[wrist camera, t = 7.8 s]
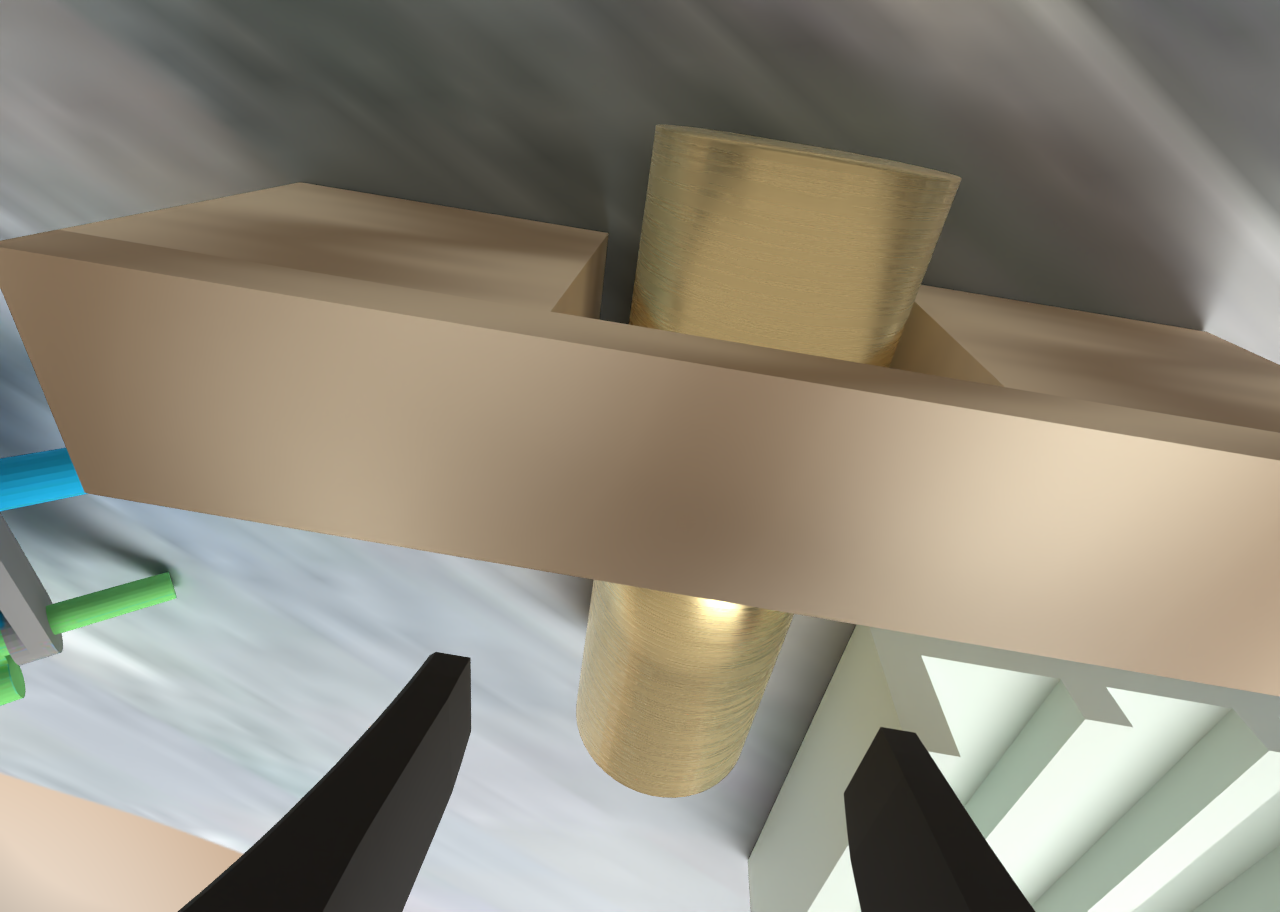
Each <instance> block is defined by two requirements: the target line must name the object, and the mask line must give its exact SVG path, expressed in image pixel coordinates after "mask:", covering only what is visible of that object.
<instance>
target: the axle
mask: <svg viewBox="0 0 1280 912" xmlns="http://www.w3.org/2000/svg"><path fill="white" fill-rule="evenodd" d="M961 179H962V178H961V177H958V176H956V175H952V174H949V173H945V172H941V171H937V170H933V169H929V168H925V167H920V166H916V165H911V164H906V163H902V162H897V161H892V160H887V159H882V158H877V157H872V156H866V155H861V154H856V153H851V152H845V151H840V150H834V149H828V148H822V147H816V146H810V145H804V144H798V143H792V142H786V141H780V140H774V139H768V138H762V137H756V136H750V135H744V134H738V133H732V132H725V131H718V130H711V129H703V128H695V127H687V126H678V125H664V124H659V125H656V129H655V137H654V144H653V151H652V158H651V166H650V173H649V180H648V188H647V195H646V202H645V209H644V217H643V224H642V231H641V239H640V246H639V253H638V260H637V268H636V275H635V282H634V289H633V297H632V304H631V311H630V319H629V325H634V326H640V327H646V328H652V329H658V330H664V331H670V332H676V333H682V334H688V335H694V336H700V337H706V338H712V339H718V340H724V341H730V342H736V343H742V344H748V345H754V346H760V347H767V348H773V349H779V350H785V351H791V352H797V353H803V354H809V355H815V356H821V357H827V358H833V359H839V360H845V361H851V362H857V363H863V364H869V365H875V366H881V367H887V368H889V366H890V363H891V361H892V358H893V356H894V353H895V350H896V348H897V345H898V343H899V340H900V337H901V335H902V332H903V330H904V327H905V324H906V322H907V319H908V317H909V314H910V311H911V309H912V306H913V304H914V301H915V298H916V296H917V293H918V291H919V288H920V285H921V283H922V280H923V278H924V275H925V272H926V270H927V267H928V265H929V262H930V259H931V257H932V254H933V252H934V249H935V246H936V244H937V241H938V239H939V236H940V233H941V231H942V228H943V226H944V223H945V220H946V218H947V215H948V213H949V210H950V207H951V205H952V202H953V200H954V197H955V194H956V192H957V189H958V187H959V184H960V181H961ZM793 616H794V614H793V613H787V612H781V611H775V610H769V609H763V608H757V607H752V606H746V605H740V604H734V603H728V602H722V601H716V600H711V599H705V598H699V597H693V596H687V595H681V594H675V593H669V592H664V591H658V590H652V589H646V588H640V587H634V586H628V585H622V584H617V583H611V582H605V581H599V580H594V581H593V588H592V595H591V602H590V610H589V617H588V624H587V632H586V639H585V646H584V653H583V661H582V668H581V675H580V683H579V690H578V697H577V704H576V717H577V725H578V729H579V733H580V736H581V738H582V741H583V743H584V745H585V747H586V749H587V750H588V752H589V754H590V755H591V757H592V758H593V759H594V761H595V762H596V763H597V764H598V765H599V766H600V767H601V768H602V769H603V770H604V771H605V772H606V773H607V774H608V775H609V776H611V777H612V778H613V779H615V780H616V781H618V782H619V783H621V784H623V785H624V786H626V787H628V788H631V789H633V790H635V791H638V792H641V793H644V794H648V795H651V796H658V797H672V798H676V797H685V796H690V795H694V794H698V793H700V792H703V791H705V790H707V789H710V788H711V787H713V786H714V785H716V784H718V783H719V782H720V781H721V780H722V779H724V778H725V777H726V776H727V775H728V774H729V772H730V771H731V770H732V769H733V767H734V766H735V764H736V762H737V760H738V759H739V756H740V753H741V751H742V748H743V746H744V743H745V740H746V738H747V735H748V733H749V730H750V727H751V725H752V722H753V720H754V717H755V714H756V712H757V709H758V707H759V704H760V701H761V699H762V696H763V694H764V691H765V688H766V686H767V683H768V681H769V678H770V675H771V673H772V670H773V668H774V665H775V662H776V660H777V657H778V655H779V652H780V649H781V647H782V644H783V642H784V639H785V636H786V634H787V631H788V629H789V626H790V623H791V621H792V618H793Z"/></svg>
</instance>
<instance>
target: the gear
mask: <svg viewBox="0 0 1280 912" xmlns="http://www.w3.org/2000/svg"><path fill="white" fill-rule="evenodd" d="M84 494H88V493H85V492H84V490H83V487H82V485H81V482H80V480H79V477H78V475H77V473H76V470H75V468H74V465H73V463H72V460H71V458H70V456H69V453H68V451H67V448H61V449H55V450H49V451H43V452H37V453H31V454H25V455H19V456H13V457H7V458H1V459H0V511H5V510H9V509H14V508H19V507H24V506H29V505H34V504H39V503H44V502H49V501H54V500H59V499H64V498H69V497H74V496H79V495H84ZM175 598H176V593H175V590H174V586H173V583H172V580H171V577H170V574H169V572H166V573H162V574H159V575H155V576H151V577H148V578H144V579H141V580H137V581H133V582H130V583H126V584H123V585H119V586H116V587H112V588H108V589H105V590H101V591H98V592H94V593H91V594H87V595H83V596H80V597H76V598H73V599H69V600H65V601H62V602H58V603H55V604H52V602H51V599H50V597H49V595H48V594H47V592H46V590H45V589H44V587H43V585H42V583H41V582H40V580H39V578H38V576H37V575H36V573H35V571H34V570H33V568H32V566H31V564H30V563H29V561H28V559H27V557H26V556H25V554H24V552H23V550H22V549H21V547H20V545H19V544H18V542H17V540H16V538H15V537H14V535H13V533H12V531H11V530H10V528H9V526H8V525H7V523H6V521H5V519H4V518H3V516H2V514H1V512H0V706H1V705H4V704H7V703H10V702H13V701H15V700H18V699H21V698H24V696H25V683H24V678H23V674H22V671H21V669H20V666H19V665H23V664H27V663H30V662H33V661H36V660H39V659H42V658H46V657H49V656H52V655H55V654H58V653H61V652H62V650H63V640H62V634H61V633H63V632H66V631H70V630H73V629H76V628H80V627H83V626H86V625H90V624H93V623H96V622H99V621H103V620H106V619H109V618H113V617H116V616H119V615H123V614H126V613H129V612H132V611H136V610H139V609H142V608H146V607H149V606H152V605H156V604H159V603H162V602H165V601H169V600H172V599H175Z"/></svg>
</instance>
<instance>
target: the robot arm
mask: <svg viewBox="0 0 1280 912" xmlns="http://www.w3.org/2000/svg"><path fill="white" fill-rule="evenodd" d="M470 733H471V669H470V658H468V657H462V656H457V655H451V654H445V653H439V652H435V653H433V654H432V655H430V656H429V657H428V658H427V660H426V661H425V662H424V664H423V665H422V666H421V668H420V669H419V670H418V671H417V673H416V674H415V675H414V676H413V677H412V679H411V680H410V681H409V682H408V684H407V685H406V686H405V687H404V688H403V690H402V691H401V692H400V693H399V694H398V696H397V697H396V698H395V699H394V700H393V702H392V703H391V704H390V705H389V706H388V707H387V708H386V710H385V711H384V712H383V713H382V714H381V715H380V716H379V718H378V719H377V720H376V721H375V722H374V723H373V724H372V726H371V727H370V728H369V729H368V730H367V731H366V732H365V733H364V734H363V735H362V736H361V737H360V739H359V740H358V741H357V742H356V743H355V744H354V745H353V746H352V747H351V748H350V749H349V750H348V752H347V753H346V754H345V755H344V756H343V757H342V758H341V759H340V760H339V761H338V762H337V763H336V765H335V766H334V767H333V768H332V769H331V770H330V771H329V772H328V773H327V774H326V775H325V776H324V777H323V778H322V779H321V780H320V781H319V782H318V783H317V784H316V785H315V786H314V787H313V788H312V789H311V790H310V791H309V792H308V793H307V794H306V795H305V796H304V797H303V798H302V799H301V800H300V801H299V802H298V803H297V804H296V805H295V806H294V807H293V808H292V809H291V810H290V811H289V812H288V813H287V814H286V815H285V816H284V817H283V818H282V819H281V820H280V821H279V822H278V823H277V824H275V825H274V826H273V827H272V828H271V829H270V830H269V831H268V832H267V833H266V834H265V835H264V836H263V837H262V838H261V839H260V840H258V841H257V842H256V843H255V844H254V845H253V846H252V847H251V848H250V849H249V850H248V851H247V852H245V853H244V854H243V855H242V856H241V857H240V858H239V859H238V860H237V861H236V862H234V863H233V864H232V865H231V866H230V867H229V868H228V869H227V870H225V871H224V872H223V873H222V874H221V875H220V876H219V877H218V878H216V879H215V880H214V881H213V882H212V883H211V884H210V885H208V887H206V888H205V889H204V890H203V891H202V892H200V894H198V895H197V896H196V897H194V898H193V899H192V900H191V901H190V902H188V903H187V904H186V905H185V906H184V907H183V908H181V909H180V910H179V911H178V912H402V911H403V909H404V906H405V904H406V901H407V899H408V897H409V894H410V892H411V889H412V887H413V885H414V882H415V880H416V878H417V875H418V873H419V870H420V868H421V866H422V863H423V861H424V859H425V856H426V854H427V851H428V849H429V847H430V844H431V842H432V839H433V837H434V835H435V832H436V830H437V827H438V825H439V823H440V820H441V818H442V815H443V813H444V811H445V808H446V806H447V803H448V801H449V798H450V796H451V794H452V791H453V788H454V785H455V781H456V778H457V775H458V772H459V769H460V766H461V762H462V759H463V756H464V752H465V749H466V746H467V743H468V739H469V736H470ZM844 804H845V815H846V826H847V835H848V843H849V852H850V860H851V865H852V870H853V875H854V880H855V884H856V889H857V894H858V899H859V903H860V908H861V912H1035V910H1034V909H1033V907H1032V906H1031V905H1030V903H1029V902H1028V900H1027V899H1026V898H1025V896H1024V895H1023V893H1022V892H1021V890H1020V889H1019V888H1018V886H1017V885H1016V883H1015V882H1014V880H1013V879H1012V877H1011V876H1010V874H1009V873H1008V872H1007V870H1006V869H1005V867H1004V866H1003V864H1002V863H1001V861H1000V860H999V859H998V857H997V856H996V854H995V853H994V851H993V850H992V848H991V847H990V845H989V844H988V842H987V841H986V839H985V838H984V836H983V835H982V833H981V832H980V830H979V829H978V827H977V826H976V824H975V823H974V821H973V820H972V818H971V817H970V815H969V814H968V812H967V811H966V809H965V808H964V806H963V805H962V803H961V802H960V800H959V799H958V797H957V795H956V794H955V792H954V791H953V789H952V788H951V786H950V785H949V783H948V782H947V780H946V779H945V777H944V775H943V774H942V772H941V771H940V769H939V768H938V766H937V765H936V763H935V762H934V760H933V758H932V757H931V755H930V754H929V752H928V751H927V749H926V748H925V746H924V745H923V743H922V742H921V740H920V739H919V737H918V736H917V734H916V733H915V732H909V731H903V730H897V729H891V728H885V727H880V729H879V730H878V732H877V734H876V736H875V738H874V739H873V741H872V743H871V745H870V747H869V748H868V750H867V752H866V754H865V756H864V757H863V759H862V761H861V763H860V765H859V766H858V768H857V770H856V772H855V774H854V776H853V777H852V779H851V781H850V783H849V785H848V786H847V788H846V790H845V792H844Z"/></svg>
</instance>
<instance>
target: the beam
mask: <svg viewBox="0 0 1280 912" xmlns="http://www.w3.org/2000/svg"><path fill="white" fill-rule="evenodd" d="M608 234H609V233H605V232H599V231H593V230H587V229H581V228H574V227H568V226H562V225H556V224H550V223H544V222H538V221H532V220H526V219H520V218H514V217H508V216H502V215H496V214H490V213H484V212H477V211H471V210H465V209H459V208H453V207H447V206H441V205H435V204H429V203H423V202H417V201H411V200H405V199H399V198H393V197H387V196H380V195H374V194H368V193H362V192H356V191H350V190H344V189H338V188H332V187H326V186H320V185H314V184H308V183H302V182H299V183H293V184H288V185H283V186H278V187H273V188H268V189H263V190H258V191H253V192H247V193H242V194H237V195H232V196H227V197H222V198H217V199H212V200H206V201H201V202H196V203H191V204H186V205H181V206H176V207H171V208H166V209H160V210H155V211H150V212H145V213H140V214H135V215H130V216H125V217H120V218H114V219H109V220H104V221H99V222H94V223H89V224H84V225H79V226H74V227H68V228H63V229H58V230H53V231H48V232H43V233H38V234H33V235H28V236H22V237H17V238H12V239H7V240H2V241H0V288H1V290H2V293H3V295H4V298H5V300H6V303H7V305H8V307H9V310H10V312H11V315H12V317H13V320H14V322H15V324H16V327H17V329H18V332H19V334H20V337H21V339H22V341H23V344H24V346H25V349H26V351H27V354H28V356H29V358H30V361H31V363H32V366H33V368H34V371H35V373H36V375H37V378H38V380H39V383H40V385H41V388H42V390H43V392H44V395H45V397H46V400H47V402H48V405H49V407H50V409H51V412H52V414H53V417H54V419H55V422H56V424H57V426H58V429H59V431H60V434H61V436H62V439H63V441H64V443H65V446H66V448H67V451H68V453H69V456H70V458H71V460H72V463H73V465H74V468H75V470H76V473H77V475H78V477H79V480H80V482H81V485H82V487H83V490H84V492H85V493H88V494H94V495H100V496H106V497H112V498H118V499H124V500H129V501H135V502H141V503H147V504H153V505H159V506H165V507H171V508H176V509H182V510H188V511H194V512H200V513H206V514H212V515H217V516H223V517H229V518H235V519H241V520H247V521H253V522H259V523H264V524H270V525H276V526H282V527H288V528H294V529H300V530H306V531H311V532H317V533H323V534H329V535H335V536H341V537H347V538H352V539H358V540H364V541H370V542H376V543H382V544H388V545H394V546H399V547H405V548H411V549H417V550H423V551H429V552H435V553H441V554H446V555H452V556H458V557H464V558H470V559H476V560H482V561H487V562H493V563H499V564H505V565H511V566H517V567H523V568H529V569H534V570H540V571H546V572H552V573H558V574H564V575H570V576H576V577H581V578H587V579H593V580H599V581H605V582H611V583H617V584H622V585H628V586H634V587H640V588H646V589H652V590H658V591H664V592H669V593H675V594H681V595H687V596H693V597H699V598H705V599H711V600H716V601H722V602H728V603H734V604H740V605H746V606H752V607H757V608H763V609H769V610H775V611H781V612H787V613H793V614H799V615H804V616H810V617H816V618H822V619H828V620H834V621H840V622H846V623H851V624H857V625H863V626H869V627H875V628H881V629H887V630H892V631H898V632H904V633H910V634H916V635H922V636H928V637H934V638H939V639H945V640H951V641H957V642H963V643H969V644H975V645H981V646H986V647H992V648H998V649H1004V650H1010V651H1016V652H1022V653H1027V654H1033V655H1039V656H1045V657H1051V658H1057V659H1063V660H1069V661H1074V662H1080V663H1086V664H1092V665H1098V666H1104V667H1110V668H1116V669H1121V670H1127V671H1133V672H1139V673H1145V674H1151V675H1157V676H1162V677H1168V678H1174V679H1180V680H1186V681H1192V682H1198V683H1204V684H1209V685H1215V686H1221V687H1227V688H1233V689H1239V690H1245V691H1251V692H1256V693H1262V694H1268V695H1274V696H1280V365H1278V364H1276V363H1274V362H1272V361H1269V360H1267V359H1265V358H1263V357H1261V356H1258V355H1256V354H1254V353H1252V352H1250V351H1247V350H1245V349H1243V348H1241V347H1239V346H1237V345H1234V344H1232V343H1230V342H1228V341H1226V340H1223V339H1221V338H1219V337H1217V336H1215V335H1212V334H1210V333H1208V332H1205V331H1199V330H1193V329H1187V328H1181V327H1175V326H1169V325H1163V324H1157V323H1150V322H1144V321H1138V320H1132V319H1126V318H1120V317H1114V316H1108V315H1102V314H1096V313H1090V312H1084V311H1078V310H1072V309H1066V308H1060V307H1053V306H1047V305H1041V304H1035V303H1029V302H1023V301H1017V300H1011V299H1005V298H999V297H993V296H987V295H981V294H975V293H969V292H963V291H956V290H950V289H944V288H938V287H932V286H926V285H920V288H919V291H918V293H917V296H916V298H915V301H914V304H913V306H912V309H911V311H910V314H909V317H908V319H907V322H906V324H905V327H904V330H903V332H902V335H901V337H900V340H899V343H898V345H897V348H896V350H895V353H894V356H893V358H892V361H891V363H890V366H889V368H887V367H881V366H875V365H869V364H863V363H857V362H851V361H845V360H839V359H833V358H827V357H821V356H815V355H809V354H803V353H797V352H791V351H785V350H779V349H773V348H767V347H760V346H754V345H748V344H742V343H736V342H730V341H724V340H718V339H712V338H706V337H700V336H694V335H688V334H682V333H676V332H670V331H664V330H658V329H652V328H646V327H640V326H634V325H628V324H622V323H616V322H610V321H604V320H599V318H600V309H601V300H602V290H603V281H604V272H605V262H606V253H607V244H608Z"/></svg>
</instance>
